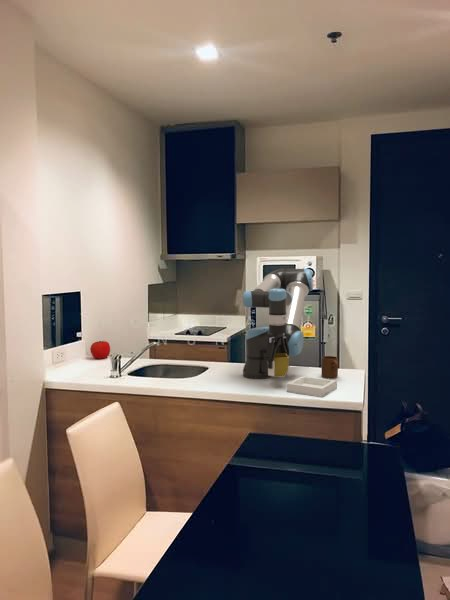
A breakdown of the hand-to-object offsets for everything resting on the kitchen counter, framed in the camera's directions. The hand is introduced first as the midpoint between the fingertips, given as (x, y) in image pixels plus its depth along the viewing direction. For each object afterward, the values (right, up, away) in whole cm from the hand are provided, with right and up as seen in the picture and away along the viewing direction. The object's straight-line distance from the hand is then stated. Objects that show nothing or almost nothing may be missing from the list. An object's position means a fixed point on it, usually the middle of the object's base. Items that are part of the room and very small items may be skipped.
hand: (277, 372), depth 224 cm
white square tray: (+14, -6, -8) cm, 17 cm away
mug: (+27, -5, +14) cm, 30 cm away
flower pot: (0, -2, 0) cm, 1 cm away
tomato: (-95, -1, +65) cm, 115 cm away
